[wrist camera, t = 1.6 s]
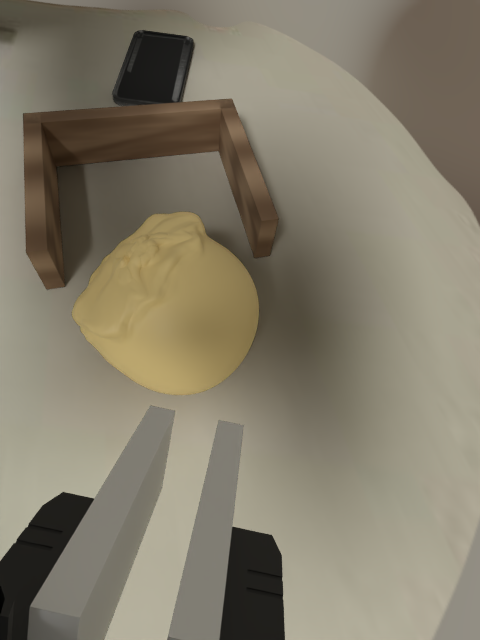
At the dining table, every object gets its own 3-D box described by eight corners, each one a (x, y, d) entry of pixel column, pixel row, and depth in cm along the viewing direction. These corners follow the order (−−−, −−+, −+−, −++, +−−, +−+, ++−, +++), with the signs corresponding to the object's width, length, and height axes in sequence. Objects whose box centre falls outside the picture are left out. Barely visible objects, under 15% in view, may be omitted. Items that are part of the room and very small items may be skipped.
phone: (194, 37, 56) (178, 106, 48) (194, 46, 57) (178, 115, 49) (134, 29, 55) (109, 97, 48) (135, 38, 56) (111, 106, 49)
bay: (269, 255, 40) (278, 218, 35) (46, 289, 36) (25, 252, 31) (228, 140, 47) (231, 98, 43) (40, 157, 43) (23, 113, 39)
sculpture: (154, 261, 38) (141, 166, 29) (272, 319, 36) (299, 237, 27) (73, 362, 33) (24, 285, 23) (207, 436, 31) (212, 385, 22)
